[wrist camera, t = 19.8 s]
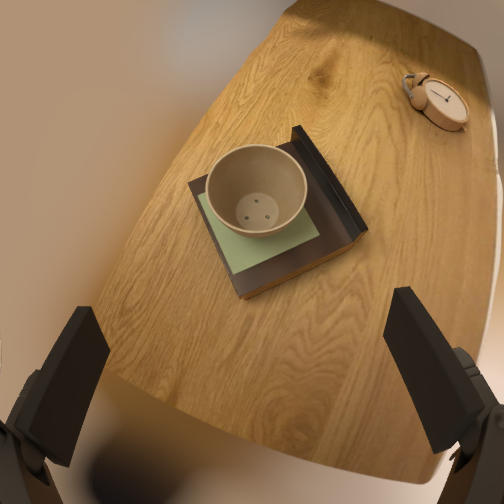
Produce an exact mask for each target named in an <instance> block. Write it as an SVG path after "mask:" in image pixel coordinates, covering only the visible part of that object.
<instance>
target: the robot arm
mask: <svg viewBox="0 0 504 504" xmlns="http://www.w3.org/2000/svg"><path fill="white" fill-rule="evenodd" d="M383 337H384V339H385V341H386V343H387V345H388V347H389V349H390V352H391V354H392V356H393V358H394V360H395V362H396V364H397V367H398V369H399V371H400V373H401V375H402V378H403V380H404V382H405V384H406V387H407V389H408V391H409V394H410V396H411V398H412V401H413V403H414V405H415V408H416V410H417V412H418V415H419V417H420V420H421V422H422V425H423V427H424V430H425V432H426V435H427V437H428V440H429V443H430V445H431V448H432V450H433V453H434V454H437V453H440V452H442V451H445V450H447V449H450V448H451V447H452V446H453V445H454V444H455V443H456V442H457V441H458V442H459V444H460V447H459V448H458V449H457V450H456V451H455V452H454V453H453V454H452V456H451V457H450V459H449V460H450V461H451V460H452V459H453V458H454V457H455V456H456V457H455V459H454V462H453V465H452V468H451V471H450V473H449V476H448V478H447V481H446V484H445V486H444V488H443V491H442V493H441V496H440V498H439V500H438V502H437V504H504V405H502V404H499V402H498V401H497V399H496V398H495V396H494V394H493V392H492V391H491V389H490V387H489V386H488V384H487V382H486V380H485V379H484V377H483V375H482V374H480V371H479V369H478V367H476V364H475V363H474V361H473V359H472V358H471V356H470V355H469V354H468V353H467V352H466V351H464V350H463V349H462V348H461V347H458V348H454V349H452V348H451V346H450V345H449V343H448V342H447V340H446V339H445V337H444V335H443V334H442V332H441V331H440V329H439V328H438V326H437V325H436V323H435V322H434V320H433V319H432V317H431V316H430V315H429V313H428V312H427V310H426V309H425V307H424V306H423V304H422V303H421V302H420V300H419V299H418V297H417V296H416V295H415V293H414V292H413V290H412V289H411V288H410V286H408V287H400V288H394V293H393V297H392V302H391V306H390V310H389V314H388V318H387V322H386V326H385V330H384V333H383ZM109 353H110V348H109V346H108V344H107V342H106V340H105V338H104V335H103V333H102V331H101V329H100V326H99V324H98V322H97V320H96V317H95V315H94V312H93V310H92V308H91V306H83V307H82V306H78V307H77V308H76V310H75V311H74V313H73V314H72V316H71V318H70V319H69V321H68V323H67V324H66V326H65V327H64V329H63V331H62V332H61V334H60V336H59V337H58V339H57V341H56V343H55V344H54V346H53V348H52V350H51V351H50V353H49V355H48V357H47V359H46V360H45V362H44V364H43V366H42V368H41V370H37V369H36V370H35V371H34V372H33V373H32V374H31V375H30V376H29V377H28V379H27V381H26V383H25V385H24V387H23V389H22V391H21V392H20V395H19V397H18V399H17V400H16V402H15V404H14V407H13V408H12V410H11V413H10V415H9V417H8V419H7V421H6V423H5V424H4V423H3V422H2V421H1V420H0V504H63V502H62V500H61V497H60V495H59V493H58V491H57V488H56V486H55V483H54V481H53V479H52V476H51V474H50V471H49V468H48V466H47V465H46V463H45V462H44V460H45V457H47V458H48V459H49V460H51V461H52V462H53V463H55V464H58V465H61V466H65V467H68V468H69V466H70V462H71V459H72V456H73V452H74V449H75V446H76V443H77V440H78V436H79V434H80V431H81V428H82V425H83V422H84V419H85V416H86V413H87V410H88V408H89V405H90V402H91V399H92V397H93V394H94V391H95V388H96V386H97V383H98V381H99V378H100V376H101V373H102V370H103V368H104V366H105V363H106V361H107V358H108V356H109Z"/></svg>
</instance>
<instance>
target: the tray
mask: <svg viewBox="0 0 504 504" xmlns="http://www.w3.org/2000/svg"><path fill="white" fill-rule="evenodd" d="M276 148H279V149H281V150H283V151H285V152H286V153H288V154H289V155H290V156H292V157H293V158H294V159H295V160H296V161H297V162H298V164H299V165H300V166H301V168H302V170H303V172H304V174H305V177H306V181H307V196H306V200H305V203H304V205H303V207H302V209H301V211H300V213H299V214H298V215H297V217H296V218H295V219H294V220H293V221H292V222H291V223H290V224H289V225H288V226H287V227H286V228H284V229H283V230H281V231H280V232H278V233H276V234H273V235H271V236H267V237H262V238H251V237H246V236H242V235H239V234H237V233H235V232H233V231H232V230H230V229H229V228H227V227H226V226H225V225H223V224H222V223H221V222H220V221H219V220H218V219H217V217H216V216H215V215H214V213H213V212H212V210H211V209H210V207H209V204H208V202H207V198H206V191H205V188H206V180H207V177H208V174H206V175H204V176H202V177H199V178H197V179H195V180H193V181H190V182H188V185H189V187H190V190H191V192H192V194H193V197H194V199H195V201H196V203H197V206H198V208H199V210H200V213H201V215H202V217H203V219H204V222H205V224H206V226H207V228H208V231H209V233H210V235H211V237H212V240H213V242H214V244H215V246H216V248H217V251H218V253H219V255H220V257H221V260H222V262H223V264H224V266H225V268H226V271H227V273H228V275H229V277H230V279H231V281H232V284H233V286H234V288H235V290H236V292H237V294H238V296H239V299H241V298H244V300H246V299H249V298H251V297H253V296H255V295H257V294H259V293H261V292H264V291H266V290H268V289H270V288H272V287H274V286H276V285H278V284H280V283H283V282H285V281H287V280H289V279H291V278H293V277H295V276H297V275H299V274H301V273H303V272H305V271H307V270H309V269H312V268H314V267H316V266H318V265H320V264H322V263H324V262H326V261H328V260H330V259H332V258H334V257H336V256H338V255H340V254H342V253H344V252H346V251H348V250H349V249H350V248H351V247H352V246H353V244H355V243H357V242H358V241H359V240H360V239H361V237H362V236H363V235H364V234H365V233H366V232H367V231H368V227H367V226H366V224H365V222H364V221H363V219H362V217H361V216H360V214H359V212H358V211H357V209H356V207H355V206H354V204H353V202H352V201H351V199H350V198H349V196H348V194H347V193H346V191H345V190H344V188H343V187H342V185H341V183H340V182H339V180H338V179H337V177H336V176H335V174H334V173H333V171H332V170H331V168H330V167H329V165H328V164H327V162H326V161H325V159H324V158H323V156H322V155H321V153H320V152H319V151H318V149H317V148H316V146H315V145H314V143H313V142H312V141H311V139H310V138H309V136H308V135H307V134H306V132H305V131H304V129H303V128H302V127H301V125H298V126H295V127H292V134H291V141H290V142H287V143H284V144H282V145H279V146H276ZM255 203H256V201H255ZM267 217H269V216H267ZM248 219H249V218H247V219H246V220H248Z"/></svg>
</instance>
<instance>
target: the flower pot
mask: <svg viewBox="0 0 504 504" xmlns="http://www.w3.org/2000/svg"><path fill="white" fill-rule="evenodd" d="M205 191H206V198H207V202H208V204H209V207H210V209H211V210H212V212H213V213H214V215H215V216H216V217H217V219H218V220H219V221H220V222H221V223H222V224H223V225H225V226H226V227H227V228H229V229H230V230H232V231H233V232H235V233H237V234H239V235H242V236H246V237H251V238H262V237H267V236H271V235H273V234H276V233H278V232H280V231H281V230H283V229H284V228H286V227H287V226H288V225H289V224H290V223H291V222H292V221H293V220H294V219H295V218H296V217H297V215H298V214H299V213H300V211H301V209H302V207H303V205H304V203H305V200H306V196H307V181H306V177H305V174H304V172H303V170H302V168H301V166H300V165H299V164H298V162H297V161H296V160H295V159H294V158H293V157H292V156H290V155H289V154H288V153H286V152H285V151H283V150H281V149H279V148H276V147H273V146H270V145H264V144H249V145H244V146H240V147H237V148H235V149H232V150H230V151H229V152H227V153H226V154H224V155H223V156H221V157H220V158H219V159H218V160H217V161H216V162H215V164H214V165H213V167H212V168H211V170H210V172H209V174H208V177H207V180H206V188H205ZM255 201H256V203H255ZM267 216H269V217H267ZM247 218H249V219H248V220H246V219H247Z"/></svg>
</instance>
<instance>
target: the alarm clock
mask: <svg viewBox="0 0 504 504" xmlns="http://www.w3.org/2000/svg"><path fill="white" fill-rule="evenodd" d="M429 76H430V75H429V74H427V73H425V72H420V73H418V74H414V75H412V74H407V75H405V76H404V78H403V80H402V86H403V88H404V89H405V91H406V92H407V93H408V94H409V96H410V102H411V104H412V106H413V107H414V108H415V109H417V110H422V111H423V112H424V113H425V114H426V116H427V117H428V118H429V119H430V120H431V121H433V122H434V123H435V124H437V125H438V126H440V127H442V128H443V129H445V130H449V131H458V130H459V129H460V128H461V127H462V128H463V129H464V130H465V131H466V128H465V126H464V124H465V123H466V122H467V121H468V120H469V117H470V113H469V109H468V106H467V104H466V102H465V101H464V99H463V98H462V97H461V95H460V94H459V93H458V92H457V91H456V90H455V89H454V88H452V87H451V86H450V85H448V84H447V83H445V82H443V81H441V80H438V79H435V78H429ZM406 78H413V81H412V86H413V89H412V90H410V89H409V88H408V87H407V85H406V83H405V79H406Z"/></svg>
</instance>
